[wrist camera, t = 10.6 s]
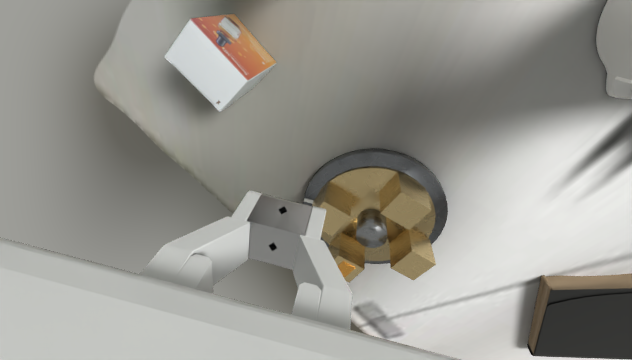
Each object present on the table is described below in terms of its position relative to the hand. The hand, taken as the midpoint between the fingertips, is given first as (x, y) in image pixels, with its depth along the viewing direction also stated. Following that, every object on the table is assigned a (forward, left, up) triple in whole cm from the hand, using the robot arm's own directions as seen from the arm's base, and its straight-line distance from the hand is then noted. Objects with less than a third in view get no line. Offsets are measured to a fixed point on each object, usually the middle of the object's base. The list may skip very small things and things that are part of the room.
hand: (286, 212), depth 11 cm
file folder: (-63, +31, -32) cm, 77 cm away
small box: (+14, +2, -31) cm, 34 cm away
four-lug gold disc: (-10, +23, -29) cm, 39 cm away
